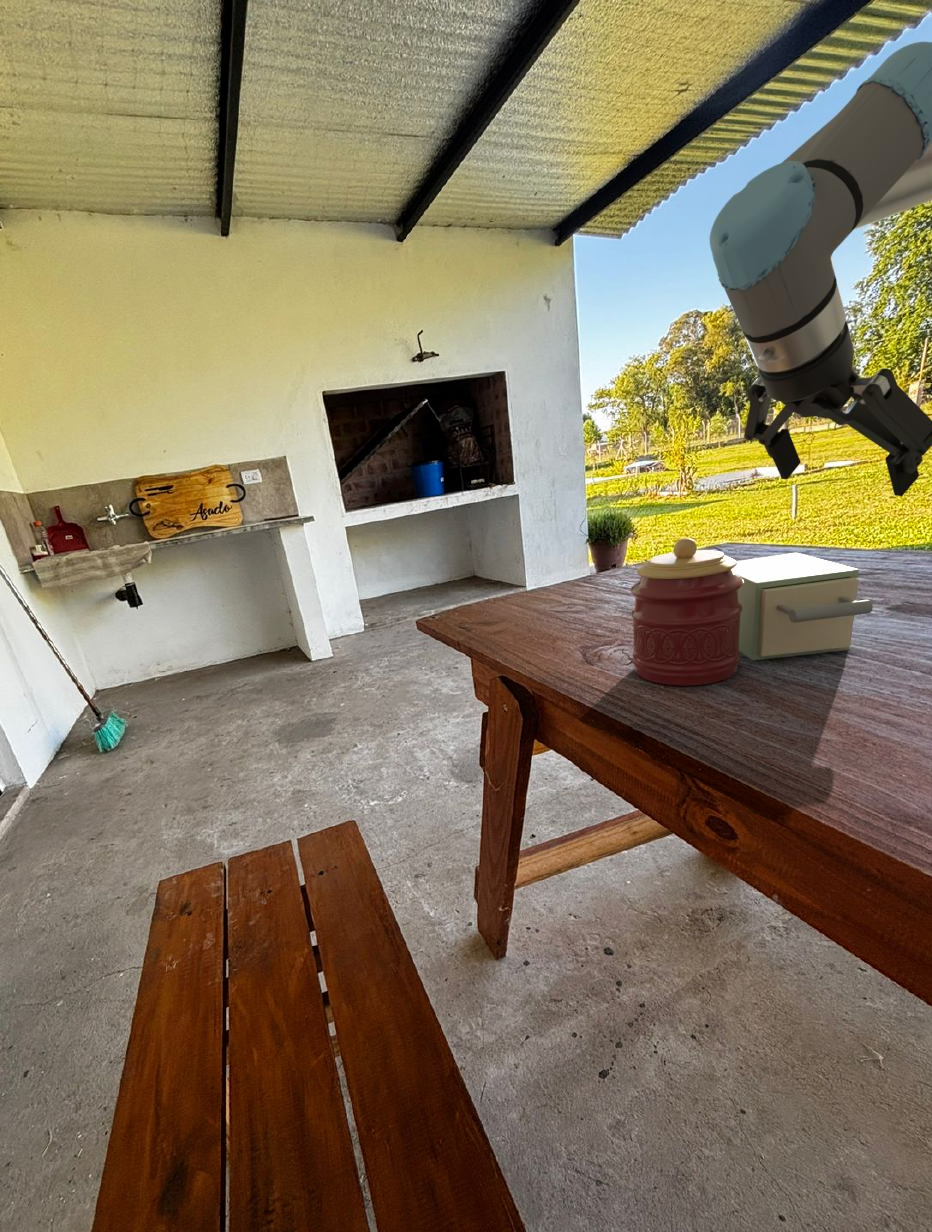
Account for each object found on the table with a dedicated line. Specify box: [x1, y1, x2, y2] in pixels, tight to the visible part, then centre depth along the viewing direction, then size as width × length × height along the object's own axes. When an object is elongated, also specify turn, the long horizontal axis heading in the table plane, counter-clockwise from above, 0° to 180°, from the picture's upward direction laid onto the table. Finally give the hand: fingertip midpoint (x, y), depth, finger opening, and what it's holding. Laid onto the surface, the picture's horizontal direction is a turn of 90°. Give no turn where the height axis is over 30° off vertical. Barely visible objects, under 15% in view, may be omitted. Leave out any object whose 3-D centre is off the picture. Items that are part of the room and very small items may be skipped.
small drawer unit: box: [732, 552, 860, 661], centre depth 74 cm, size 15×12×11 cm
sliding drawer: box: [758, 577, 874, 656], centre depth 70 cm, size 18×10×9 cm, turn 172°
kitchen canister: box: [630, 537, 744, 687], centre depth 69 cm, size 13×13×18 cm
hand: (844, 477), depth 66 cm, fingers open, 13 cm apart
